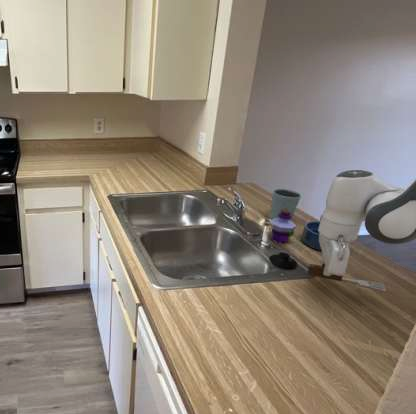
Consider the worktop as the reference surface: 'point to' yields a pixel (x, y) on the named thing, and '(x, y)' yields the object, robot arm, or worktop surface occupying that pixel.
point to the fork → (318, 272)
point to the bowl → (311, 234)
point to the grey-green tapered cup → (283, 202)
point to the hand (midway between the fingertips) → (325, 271)
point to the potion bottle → (282, 226)
